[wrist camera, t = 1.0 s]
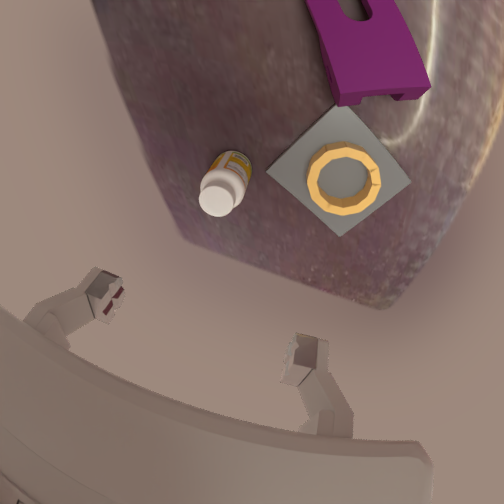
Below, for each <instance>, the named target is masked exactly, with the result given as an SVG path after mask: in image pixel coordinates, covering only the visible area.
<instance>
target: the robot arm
mask: <svg viewBox="0 0 504 504" xmlns="http://www.w3.org/2000/svg"><path fill="white" fill-rule="evenodd" d="M122 284H123V280H122V278H121V277H119V276H116V275H114V274H112V273H109V272H107V271H104V270H102V269H100V268H98V267H94V268H93V269H91V271H90V272H89V273H88V274H87V276H86V277H85V278H84V279H83V280H82V281H81V283H80V284H79V285H78V286H77V288H71V289H69V290H67V291H64V292H62V293H59V294H57V295H55V296H52V297H50V298H48V299H46V300H43V301H41V302H39V303H36V305H35V306H34V307H33V308H32V310H31V311H30V312H29V313H28V315H27V316H26V317H25V319H24V320H23V321H22V320H20V319H19V318H17V317H16V316H15V315H13V314H12V313H11V312H9V311H8V310H7V309H5V308H4V307H3V306H1V305H0V504H431V501H432V493H433V483H434V465H433V462H432V460H431V458H430V457H429V455H428V453H427V452H426V450H425V449H424V447H423V446H422V445H421V444H420V442H418V441H413V440H406V441H389V440H388V441H387V440H364V439H363V440H362V439H352V437H353V417H354V415H353V414H354V413H353V411H352V409H351V408H350V406H349V404H348V402H347V401H346V399H345V397H344V395H343V393H342V392H341V390H340V388H339V386H338V385H337V383H336V381H335V379H334V378H333V376H332V374H331V373H329V372H328V357H329V342H328V341H327V340H323V339H319V338H316V337H312V336H308V335H303V334H299V333H295V334H294V336H293V339H292V342H290V343H289V345H288V347H287V349H286V352H285V356H284V361H283V362H284V364H285V366H284V368H283V369H282V374H281V380H280V383H284V384H288V385H292V386H296V387H298V390H299V393H300V395H301V398H302V400H303V403H304V405H305V408H306V410H307V413H308V415H309V418H310V419H309V420H308V421H307V422H305V423H304V424H303V425H301V426H300V427H299V431H298V432H294V431H289V430H284V429H278V428H273V427H269V426H264V425H259V424H255V423H251V422H247V421H242V420H239V419H234V418H231V417H228V416H224V415H220V414H217V413H213V412H210V411H207V410H204V409H201V408H197V407H194V406H191V405H188V404H185V403H182V402H180V401H177V400H174V399H171V398H169V397H166V396H164V395H161V394H158V393H156V392H153V391H151V390H148V389H146V388H144V387H141V386H139V385H137V384H134V383H132V382H130V381H127V380H125V379H123V378H121V377H119V376H117V375H114V374H112V373H110V372H108V371H106V370H104V369H102V368H100V367H98V366H96V365H94V364H92V363H90V362H88V361H86V360H85V359H83V358H81V357H79V356H78V355H76V354H74V353H72V352H70V351H69V348H70V343H69V342H68V339H67V337H66V336H68V335H69V334H71V333H73V332H74V331H76V330H77V329H79V328H81V327H82V326H84V325H86V324H87V323H89V322H91V321H92V320H94V318H95V319H97V320H99V321H102V322H104V323H106V324H109V323H110V321H111V320H112V318H113V317H114V315H115V309H118V308H119V307H120V306H121V305H122V303H123V300H124V297H125V291H124V289H123V287H122V286H121V285H122Z"/></svg>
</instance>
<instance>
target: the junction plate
mask: <svg viewBox="0 0 504 504" xmlns="http://www.w3.org/2000/svg"><path fill="white" fill-rule="evenodd" d="M266 173H268V174H269V175H270V176H271V177H272V178H274V179H275V180H276V181H277V182H278V183H279V184H281V185H282V186H283V187H284V188H285V189H287V190H288V191H289V192H290V193H291V194H292V195H293V196H295V197H296V198H297V199H298V200H299V201H300V202H302V203H303V204H304V205H305V206H306V207H307V208H308V209H309V210H311V211H312V212H313V213H314V214H315V215H316V216H317V217H318V218H319V219H321V220H322V221H323V222H324V223H325V224H326V225H327V226H328V227H329V228H330V229H331V230H333V231H334V232H335V233H336V234H337V235H338V236H339V237H340V236H342V235H343V234H344V233H346V232H347V231H348V230H350V229H351V228H352V227H354V226H355V225H356V224H358V223H359V222H360V221H362V220H363V219H364V218H366V217H367V216H368V215H370V214H371V213H372V212H374V211H375V210H376V209H378V208H379V207H380V206H382V205H383V204H384V203H385V202H387V201H388V200H389V199H391V198H392V197H393V196H394V195H396V194H397V193H398V192H400V191H401V190H402V189H403V188H405V187H406V186H407V185H408V184H410V183H411V180H410V179H409V178H408V176H407V175H406V174H405V172H404V171H403V170H402V168H401V167H400V166H399V164H398V163H397V162H396V161H395V159H394V158H393V157H392V156H391V154H390V153H389V152H388V151H387V149H386V148H385V147H384V146H383V145H382V143H381V142H380V141H379V140H378V139H377V138H376V136H375V135H374V134H373V133H372V132H371V131H370V130H369V128H368V127H367V126H366V125H365V124H364V123H363V122H362V121H361V120H360V119H359V118H358V116H357V115H356V114H355V113H354V112H353V111H352V110H351V109H350V108H349V107H348V106H344V107H337V105H336V103H335V104H334V105H333V106H332V107H331V108H330V109H329V110H328V111H327V112H325V113H324V114H323V115H322V116H321V117H320V118H319V119H318V120H317V121H316V122H315V123H314V124H313V125H311V126H310V127H309V128H308V129H307V130H306V131H305V132H304V133H303V134H302V135H301V136H300V137H299V138H298V139H297V140H296V141H295V142H294V143H293V144H292V145H291V146H290V147H288V148H287V149H286V150H285V151H284V152H283V153H282V154H281V155H280V156H279V157H278V158H277V159H276V160H275V161H274V162H273V163H272V164H271V165H270V166H269V167H268V168H267V169H266Z"/></svg>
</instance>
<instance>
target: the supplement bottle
mask: <svg viewBox="0 0 504 504" xmlns="http://www.w3.org/2000/svg"><path fill="white" fill-rule="evenodd" d="M251 173H252V166H251V163H250V161H249V159H248V158H247V157H246V156H245V155H244V154H242V153H240V152H237V151H227V152H224V153H222V154H220V155H219V156H218V157H217V159H216V160H215V161H214V163H213V164H212V166H211V167H210V169H209V170H208V172H207V173H206V174H205V176H204V177H203V179H202V182H201V186H200V190H201V193H200V196H199V203H200V206H201V207H202V209H203V210H204V211H205V212H206V213H208V214H209V215H212V216H216V217H221V216H225V215H227V214H228V213H230V212H231V210H232V209H233V208H234V207H236V206H237V205H239V204H240V202H241V201H242V199H243V197H244V194H245V191H246V188H247V185H248V183H249V180H250V177H251Z"/></svg>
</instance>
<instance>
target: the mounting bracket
mask: <svg viewBox="0 0 504 504" xmlns="http://www.w3.org/2000/svg"><path fill="white" fill-rule="evenodd" d="M361 2H362V4H363V6H364V8H365V10H366V12H367V14H368V16H369V18H370V19H369V20H367V21H355V20H352V19H350V18H348V17H347V16H346V15H345V14H344V13H343V11H342V9H341V7H340V5H339V3H338V1H337V0H305V3H306V5H307V7H308V10H309V12H310V15H311V17H312V19H313V22H314V24H315V27H316V30H317V32H318V36H319V40H320V49H321V54H322V59H323V63H324V67H325V70H326V74H327V78H328V82H329V85H330V88H331V92H332V95H333V98H334V100H335V103H336V105H337V107H344V106H351V105H359V104H360V102H361V100H362V97H366V96H376V95H387V94H390V95H391V97H392V98H393V99H394V100H396V101H400V100H416V99H418V98H419V97H421V96H422V95H423V94H424V93H425V92H426V91H427V90H428V89H429V88H431V84H430V81H429V78H428V75H427V73H426V70H425V67H424V64H423V62H422V59H421V57H420V54H419V52H418V49H417V47H416V45H415V42H414V40H413V38H412V35H411V33H410V31H409V29H408V27H407V25H406V23H405V21H404V19H403V17H402V15H401V13H400V11H399V9H398V7H397V5H396V3H395V2H394V0H361Z"/></svg>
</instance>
